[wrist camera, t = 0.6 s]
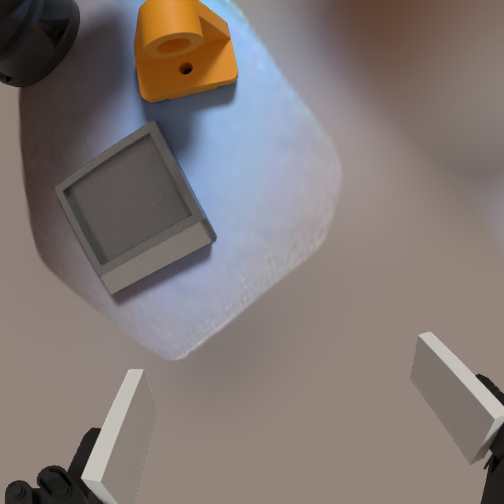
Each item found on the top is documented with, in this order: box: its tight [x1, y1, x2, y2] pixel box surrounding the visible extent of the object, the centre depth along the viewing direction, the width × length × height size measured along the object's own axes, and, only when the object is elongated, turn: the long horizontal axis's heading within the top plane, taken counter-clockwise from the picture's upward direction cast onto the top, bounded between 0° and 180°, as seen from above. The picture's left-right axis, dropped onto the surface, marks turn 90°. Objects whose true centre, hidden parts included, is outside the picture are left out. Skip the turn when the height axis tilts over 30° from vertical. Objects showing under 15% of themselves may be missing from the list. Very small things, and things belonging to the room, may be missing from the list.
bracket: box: [134, 0, 238, 103], centre depth 26 cm, size 11×7×12 cm
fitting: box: [54, 120, 217, 295], centre depth 34 cm, size 15×15×2 cm
